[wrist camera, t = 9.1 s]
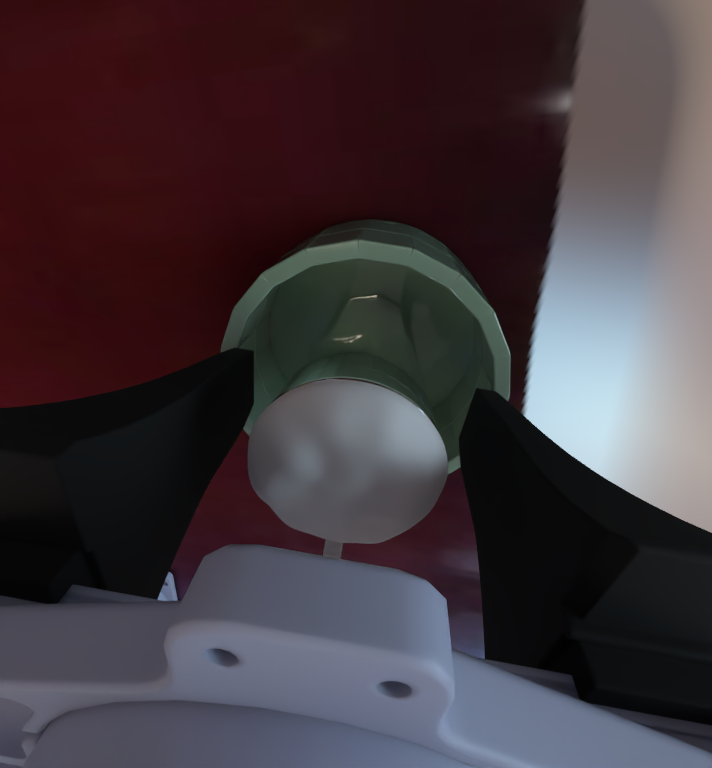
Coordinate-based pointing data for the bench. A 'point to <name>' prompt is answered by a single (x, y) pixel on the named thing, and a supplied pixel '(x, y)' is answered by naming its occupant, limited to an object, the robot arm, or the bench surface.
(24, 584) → the robot arm
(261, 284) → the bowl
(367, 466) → the milkshake cup
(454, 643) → the bench surface
